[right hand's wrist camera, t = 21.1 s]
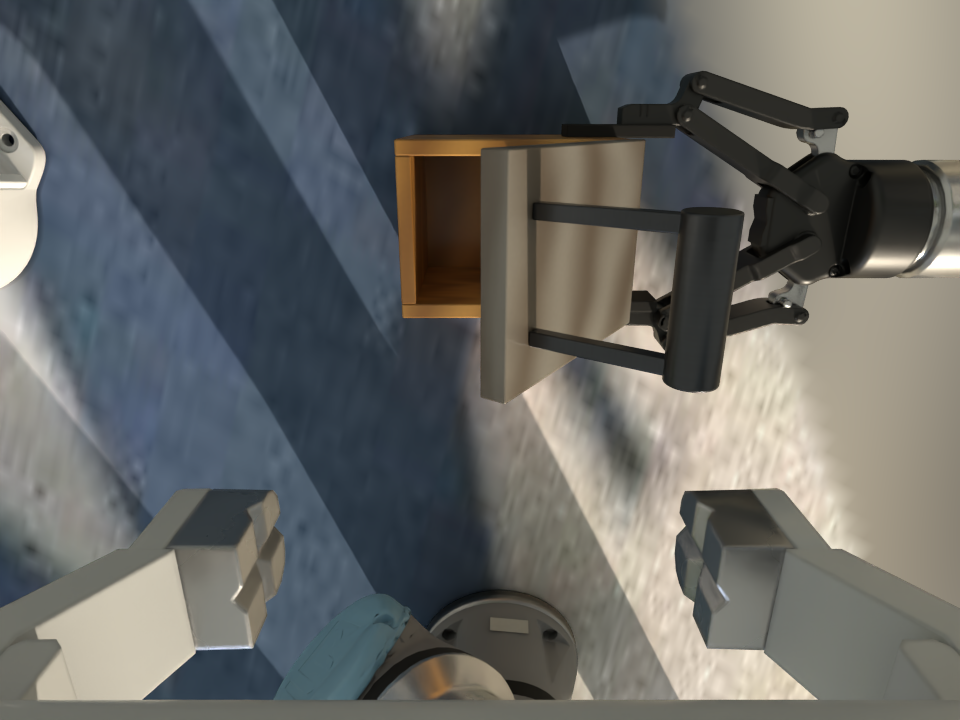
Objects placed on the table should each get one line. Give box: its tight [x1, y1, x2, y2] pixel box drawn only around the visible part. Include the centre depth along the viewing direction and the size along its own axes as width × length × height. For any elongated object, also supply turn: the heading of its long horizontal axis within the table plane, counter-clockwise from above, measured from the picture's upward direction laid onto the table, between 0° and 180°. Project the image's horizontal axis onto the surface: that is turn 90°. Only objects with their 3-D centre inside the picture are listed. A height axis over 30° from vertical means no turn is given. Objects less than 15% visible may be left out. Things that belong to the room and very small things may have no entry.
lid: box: [481, 139, 744, 404], centre depth 28 cm, size 14×10×9 cm
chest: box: [394, 135, 626, 318], centre depth 41 cm, size 13×10×11 cm
